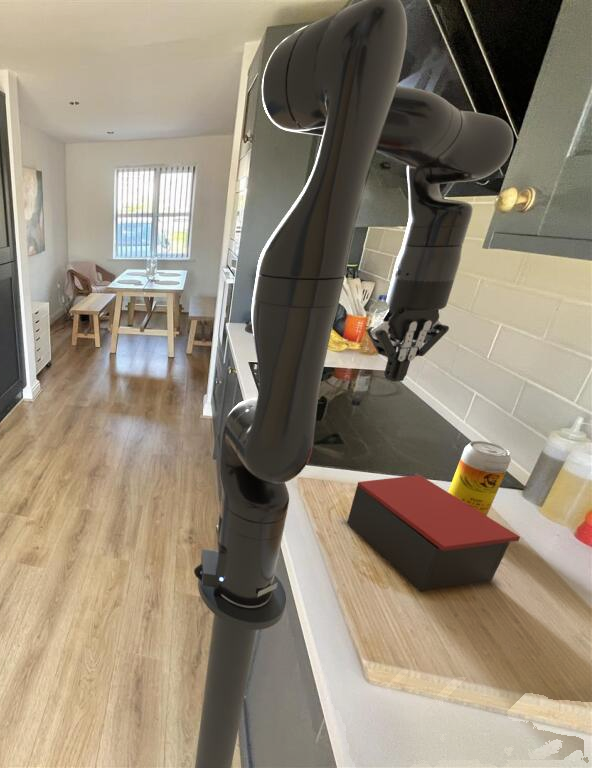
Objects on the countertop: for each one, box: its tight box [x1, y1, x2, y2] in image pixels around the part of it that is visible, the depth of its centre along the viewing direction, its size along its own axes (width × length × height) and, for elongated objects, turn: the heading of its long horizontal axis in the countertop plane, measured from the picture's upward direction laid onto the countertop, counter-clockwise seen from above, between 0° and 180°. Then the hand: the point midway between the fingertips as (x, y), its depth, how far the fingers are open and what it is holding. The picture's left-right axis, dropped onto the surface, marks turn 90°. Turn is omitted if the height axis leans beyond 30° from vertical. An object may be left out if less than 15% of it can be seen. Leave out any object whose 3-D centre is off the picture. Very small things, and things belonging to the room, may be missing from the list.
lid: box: [356, 474, 521, 551], centre depth 66 cm, size 16×13×1 cm
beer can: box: [447, 440, 512, 517], centre depth 75 cm, size 6×6×15 cm
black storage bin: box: [346, 485, 511, 593], centre depth 68 cm, size 16×13×9 cm
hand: (393, 379), depth 68 cm, fingers closed
